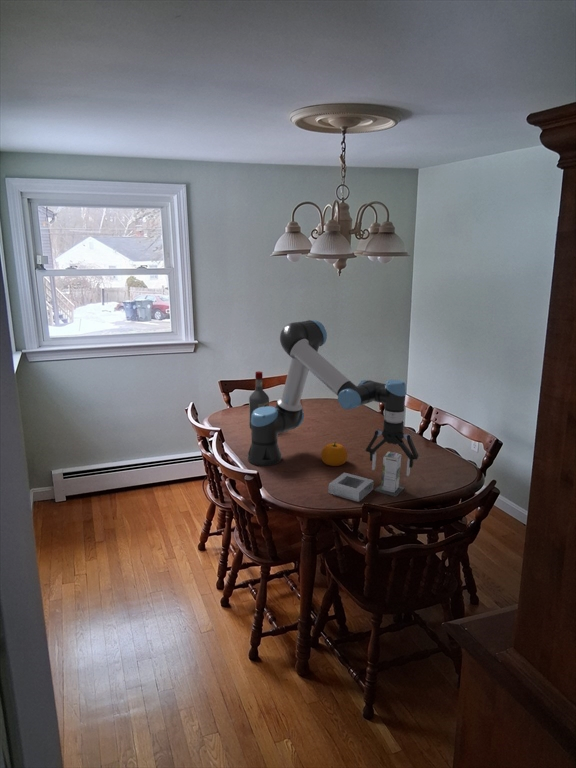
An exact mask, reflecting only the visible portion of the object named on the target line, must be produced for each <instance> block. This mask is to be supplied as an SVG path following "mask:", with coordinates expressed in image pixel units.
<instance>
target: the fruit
mask: <svg viewBox="0 0 576 768" xmlns="http://www.w3.org/2000/svg"><path fill="white" fill-rule="evenodd" d="M347 451H348V450H347V449H346V448H345V447H344V446H343V445H342V444H340V443H336V441H334V442H333V443H328V444H326V445H325V446H324V447H323V449H322V450H321V453H320V456H321V460H322V462H323V463H324V464H325V465H327V466H332V467H339V466H341V465H343V464H345V463H346V461H347V460H348V457H349V455H348V452H347Z"/></svg>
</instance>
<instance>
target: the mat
mask: <svg viewBox="0 0 576 768" xmlns="http://www.w3.org/2000/svg"><path fill="white" fill-rule="evenodd" d="M373 490H374V492H377V493H381V494H384V495H388V496H391V497H395V498H396V497H397V496H398V495H399V494H400V493H402V491H404V490H405V486H401V485H399V487H398V489H397V490H396V492H395V493H394V492H389V491H384V490H381V484H379V486H377V487H376V488H375V489H373Z"/></svg>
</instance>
